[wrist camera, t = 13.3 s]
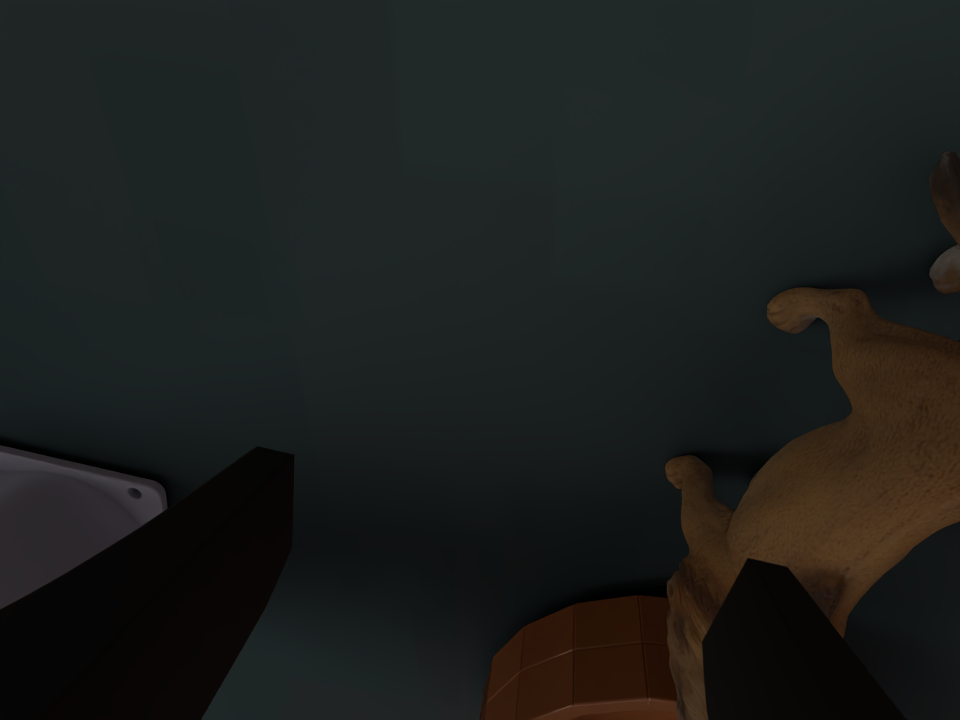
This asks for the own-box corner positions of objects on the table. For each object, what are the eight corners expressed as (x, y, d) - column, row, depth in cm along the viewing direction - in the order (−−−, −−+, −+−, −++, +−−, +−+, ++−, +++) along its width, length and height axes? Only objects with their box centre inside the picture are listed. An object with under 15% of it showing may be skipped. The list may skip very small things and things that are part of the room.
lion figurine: (765, 586, 22) (865, 901, 14) (618, 547, 22) (638, 839, 14) (1043, 173, 15) (1558, 358, 7) (820, 116, 15) (1083, 237, 7)
